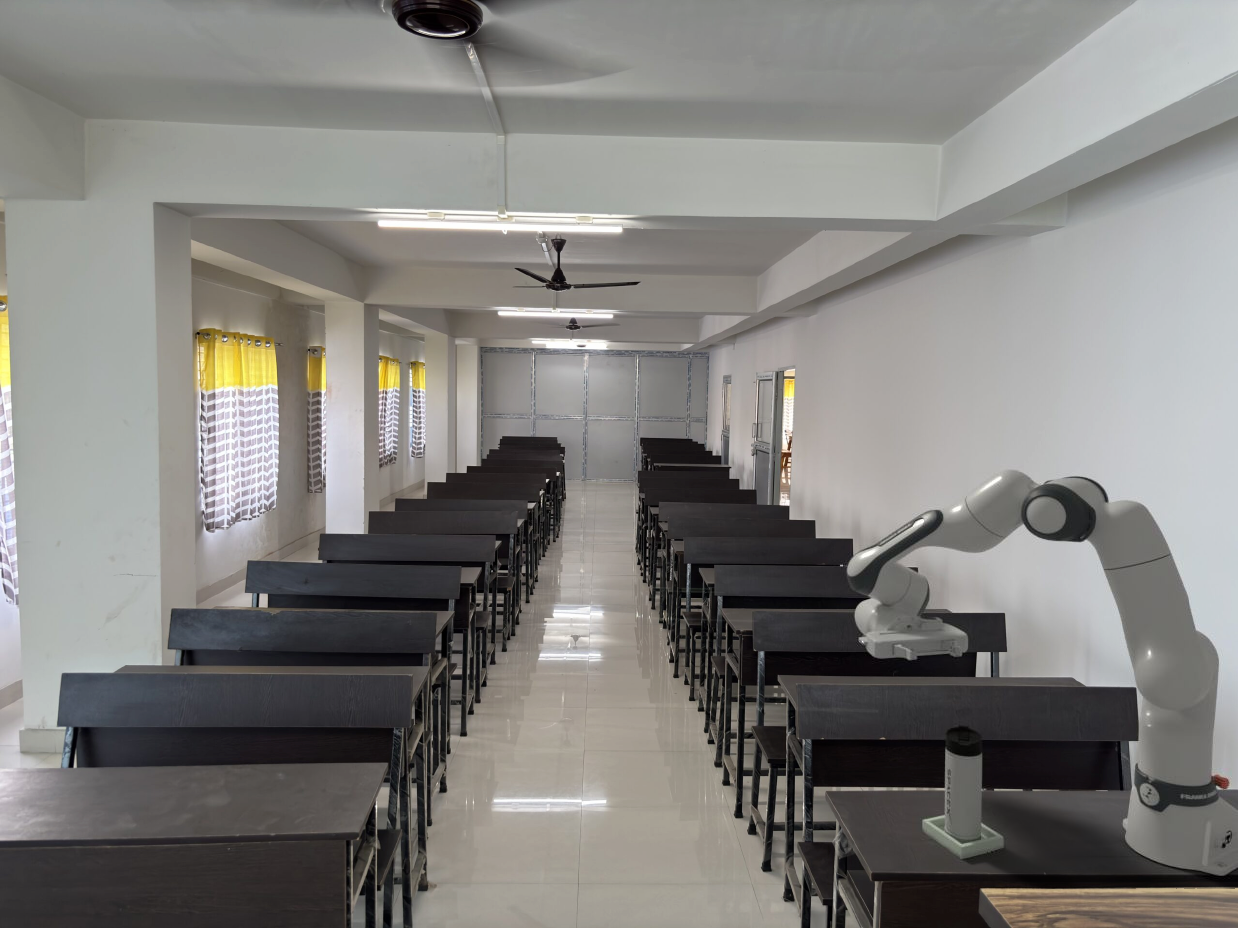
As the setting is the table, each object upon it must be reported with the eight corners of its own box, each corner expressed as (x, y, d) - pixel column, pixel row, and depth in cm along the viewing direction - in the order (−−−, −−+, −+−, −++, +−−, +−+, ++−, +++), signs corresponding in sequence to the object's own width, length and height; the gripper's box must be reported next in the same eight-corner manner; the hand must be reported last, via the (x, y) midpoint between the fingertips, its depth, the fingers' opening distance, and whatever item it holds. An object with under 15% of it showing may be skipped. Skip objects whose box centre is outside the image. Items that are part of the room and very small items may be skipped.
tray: (962, 821, 163) (962, 810, 163) (1003, 848, 153) (1003, 836, 153) (922, 830, 160) (922, 819, 160) (961, 858, 150) (961, 847, 150)
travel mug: (980, 830, 158) (981, 726, 157) (981, 848, 152) (982, 740, 151) (944, 824, 161) (945, 722, 159) (944, 842, 155) (945, 736, 153)
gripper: (854, 622, 176) (886, 641, 162) (945, 616, 179) (983, 634, 166) (854, 652, 176) (885, 673, 163) (945, 645, 180) (983, 666, 166)
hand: (936, 654), depth 164 cm, fingers open, 8 cm apart
